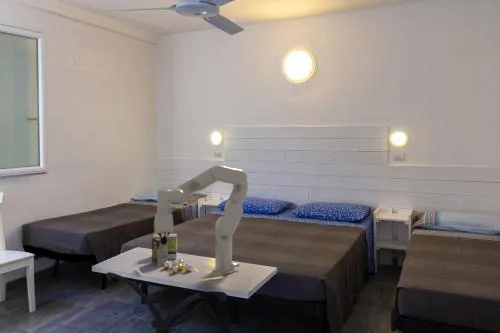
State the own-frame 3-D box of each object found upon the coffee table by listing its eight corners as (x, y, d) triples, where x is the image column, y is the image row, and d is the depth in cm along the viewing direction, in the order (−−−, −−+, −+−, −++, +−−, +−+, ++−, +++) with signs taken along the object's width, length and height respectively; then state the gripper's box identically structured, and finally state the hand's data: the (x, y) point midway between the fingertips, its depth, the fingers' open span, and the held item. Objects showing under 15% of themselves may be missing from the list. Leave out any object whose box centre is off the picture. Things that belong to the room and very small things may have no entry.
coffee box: (151, 264, 257) (151, 238, 256) (161, 263, 261) (161, 237, 260) (158, 268, 250) (158, 241, 249) (168, 266, 254) (168, 239, 253)
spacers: (183, 265, 252) (183, 258, 252) (191, 272, 240) (191, 264, 240) (162, 268, 246) (162, 261, 246) (170, 274, 234) (170, 267, 234)
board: (190, 266, 255) (190, 264, 255) (199, 273, 241) (199, 271, 241) (162, 269, 247) (162, 267, 247) (170, 277, 233) (170, 275, 233)
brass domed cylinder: (181, 268, 247) (181, 263, 246) (184, 270, 243) (184, 265, 242) (174, 269, 244) (174, 264, 244) (176, 271, 241) (176, 266, 240)
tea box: (177, 255, 279) (177, 233, 278) (175, 259, 268) (176, 236, 268) (154, 255, 277) (154, 233, 277) (151, 260, 267) (151, 236, 267)
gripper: (174, 209, 244) (174, 241, 245) (149, 211, 237) (148, 243, 238) (179, 211, 238) (178, 244, 239) (152, 213, 231) (152, 246, 232)
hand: (163, 244), depth 238 cm, fingers closed
